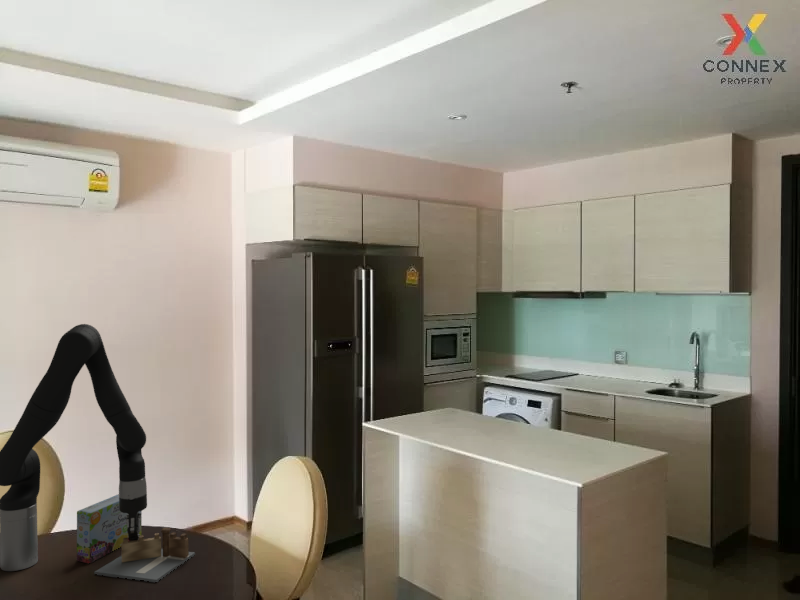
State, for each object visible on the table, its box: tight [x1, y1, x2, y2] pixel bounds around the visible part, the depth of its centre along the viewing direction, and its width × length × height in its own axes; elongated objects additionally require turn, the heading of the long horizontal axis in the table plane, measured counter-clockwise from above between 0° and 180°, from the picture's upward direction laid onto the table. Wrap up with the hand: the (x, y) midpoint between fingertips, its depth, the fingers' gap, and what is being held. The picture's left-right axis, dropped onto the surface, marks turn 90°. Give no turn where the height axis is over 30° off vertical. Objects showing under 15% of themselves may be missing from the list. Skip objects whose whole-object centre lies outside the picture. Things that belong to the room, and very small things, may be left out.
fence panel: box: [121, 532, 162, 562], centre depth 181 cm, size 11×2×6 cm, turn 112°
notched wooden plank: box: [160, 527, 190, 558], centre depth 183 cm, size 8×3×9 cm, turn 75°
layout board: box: [94, 548, 196, 583], centre depth 180 cm, size 20×18×1 cm
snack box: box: [76, 493, 143, 564], centre depth 191 cm, size 21×6×15 cm, turn 162°
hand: (134, 551), depth 184 cm, fingers closed
